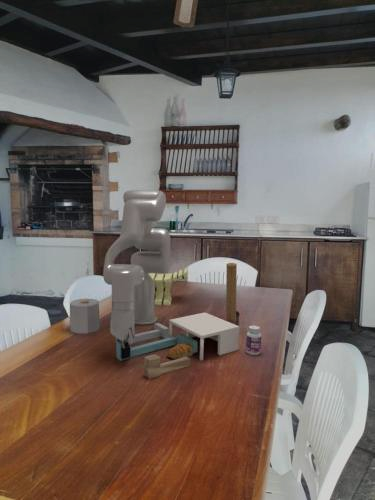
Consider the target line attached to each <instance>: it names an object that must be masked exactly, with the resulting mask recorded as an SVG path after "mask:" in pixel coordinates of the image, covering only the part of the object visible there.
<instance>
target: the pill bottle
mask: <svg viewBox="0 0 375 500" xmlns="http://www.w3.org/2000/svg"><path fill="white" fill-rule="evenodd" d="M260 331H261V327H260V326H258V325H249V326H248V331H247V333H246V339H245V353H247V354H248V355H251V356H258V355H260V354H261V350H262V349H261V348H262V333H261V332H260Z"/></svg>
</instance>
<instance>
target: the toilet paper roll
mask: <svg viewBox="0 0 375 500" xmlns="http://www.w3.org/2000/svg"><path fill="white" fill-rule="evenodd" d="M100 323H101V321H100V303H99V300H98V299H93V298H79V299H75V300H72V301H70V302H69V327H70V332H71V333H73V334H78V335H85V334H92V333H95V332H98V331H99V330H100Z"/></svg>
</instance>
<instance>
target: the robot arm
mask: <svg viewBox="0 0 375 500" xmlns="http://www.w3.org/2000/svg"><path fill="white" fill-rule="evenodd" d="M122 197H123V203H124V204H123V205H124V206H123V208H122V209H123V211H122V219H121V220H122V221H121V227H120V235H119V237H118V238H117V239H116V240H115V241H114V242H113V243H112V244H111V245H110V247H109V248H108V250H107V252H106V254H105V257H104V265H103V273H102V276H103V280H104V281H103V282H104V283H105V284H107V285H109V286H110V285H111V311H110V325H109V327H110V328H109V331H110V334H111V335H112V336H113V337H115V342H116V341H120V340H121V341H122V348H121V358H122V359H125V358H129V357H130V347H131V348H132V345H133V344H135V343H134V340H133V338H134V336H135V334H136V328H135V327H136V326H135V325H138V326H141V325H142V326H146V325H147V326H148V325H151V324H153V325H154V324H155V323H158V317H157V316H156V315H155V305H154V301H155V300H154V281H153V279H152V277H151V276H150V275H149V273H154V274H168V273H169V271H170V270H171V262H172V261H171V235H170V232H169V230H168V229H166V228H163V227H158V228H157V227H154V223H153V222H155V223H156V222H159V221H161V219H162V217H163V213H164V211H165V208H166V205H167V198H166V194H165V193H164V191H162V190H149V189H147V190H145V189H134V190H133V189H131V190H126V191H125V192H123V196H122ZM133 246H134V247H135V248H136V249H138V250H147V251H136V252H134V253H133V254H131V257H130V264H127V263H126V264H125V263H124V264H123V263H115V259H116V257H117V256H118V255H119V254H120V253H122V252H123V251H124V250H126V249H128V248H131V247H133ZM150 250H151V251H150ZM127 337H128V338H127ZM127 340H128V341H127ZM125 341H127V342H126V343H125ZM129 359H130V358H129Z"/></svg>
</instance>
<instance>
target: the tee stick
mask: <svg viewBox="0 0 375 500" xmlns="http://www.w3.org/2000/svg"><path fill="white" fill-rule="evenodd" d="M153 329H154V330H149V331H144V332H140V333H135V336H134V338H133V340H134V343H133V344H135V343H140V342H143V341H148V340H152V339H157V338H160V337H161V338H163V339H166V338H169V337H170V327H167V326H166V325H163V324H161V323H160V322H155V323H153ZM127 338H128V337H127Z"/></svg>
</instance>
